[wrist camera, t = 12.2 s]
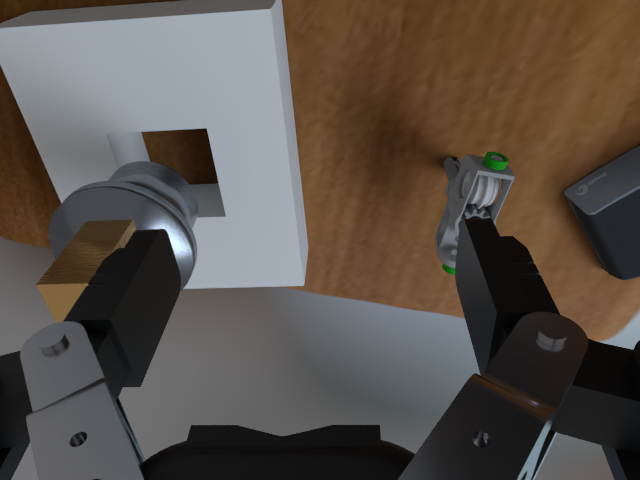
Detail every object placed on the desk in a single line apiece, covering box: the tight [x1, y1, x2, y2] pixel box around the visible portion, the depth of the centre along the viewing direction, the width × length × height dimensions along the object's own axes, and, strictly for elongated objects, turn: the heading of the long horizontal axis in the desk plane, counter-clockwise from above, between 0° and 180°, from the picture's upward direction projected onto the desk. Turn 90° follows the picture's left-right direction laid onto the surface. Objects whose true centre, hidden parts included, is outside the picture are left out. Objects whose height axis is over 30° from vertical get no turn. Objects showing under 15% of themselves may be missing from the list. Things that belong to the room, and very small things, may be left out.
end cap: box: [36, 161, 198, 323], centre depth 32 cm, size 9×9×12 cm
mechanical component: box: [436, 152, 515, 275], centre depth 41 cm, size 3×10×10 cm, turn 171°
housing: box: [0, 0, 308, 289], centre depth 42 cm, size 24×20×6 cm
